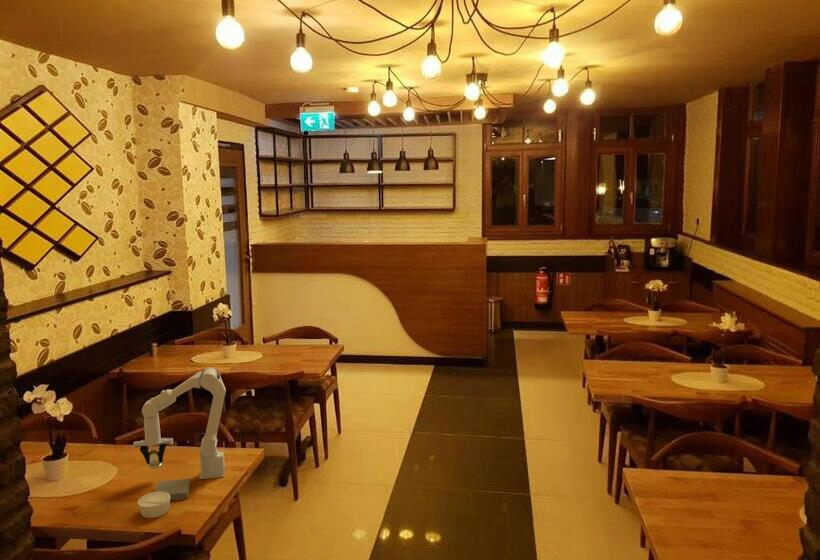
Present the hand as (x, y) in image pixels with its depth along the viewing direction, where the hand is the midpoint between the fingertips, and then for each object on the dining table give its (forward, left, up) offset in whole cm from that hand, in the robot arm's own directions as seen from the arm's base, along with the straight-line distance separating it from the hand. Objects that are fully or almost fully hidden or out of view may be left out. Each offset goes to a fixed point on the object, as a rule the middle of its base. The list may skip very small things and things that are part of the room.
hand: (154, 462), depth 257 cm
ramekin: (-3, +26, -8) cm, 28 cm away
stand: (-8, +13, -8) cm, 17 cm away
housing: (0, 0, -2) cm, 2 cm away
